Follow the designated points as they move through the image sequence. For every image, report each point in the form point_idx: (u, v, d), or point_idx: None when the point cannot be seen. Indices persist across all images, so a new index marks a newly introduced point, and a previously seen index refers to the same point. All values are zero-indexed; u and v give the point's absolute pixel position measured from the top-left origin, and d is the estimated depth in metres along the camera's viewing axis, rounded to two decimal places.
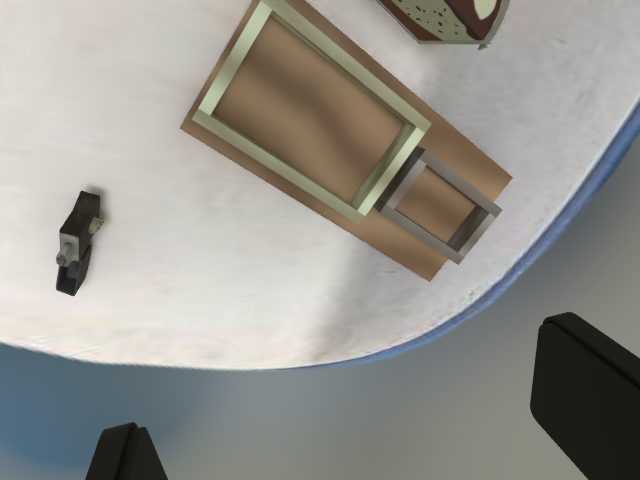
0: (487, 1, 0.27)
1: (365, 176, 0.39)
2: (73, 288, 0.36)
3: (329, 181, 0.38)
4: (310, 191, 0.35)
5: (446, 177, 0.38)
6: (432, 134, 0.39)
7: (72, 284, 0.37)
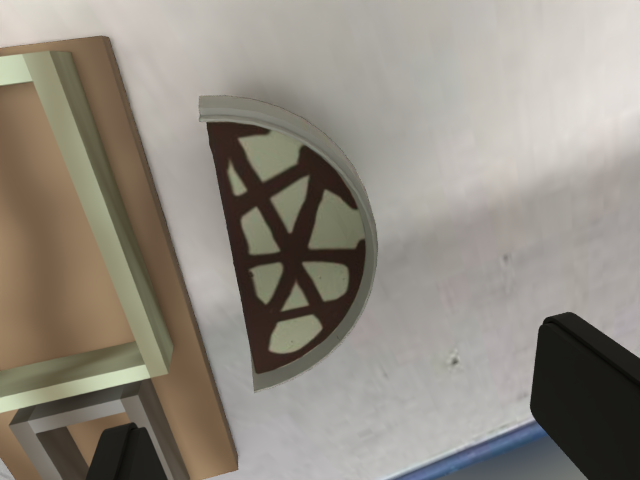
0: (293, 338, 0.17)
1: (47, 357, 0.24)
2: None
3: None
4: None
5: None
6: (178, 370, 0.26)
7: None
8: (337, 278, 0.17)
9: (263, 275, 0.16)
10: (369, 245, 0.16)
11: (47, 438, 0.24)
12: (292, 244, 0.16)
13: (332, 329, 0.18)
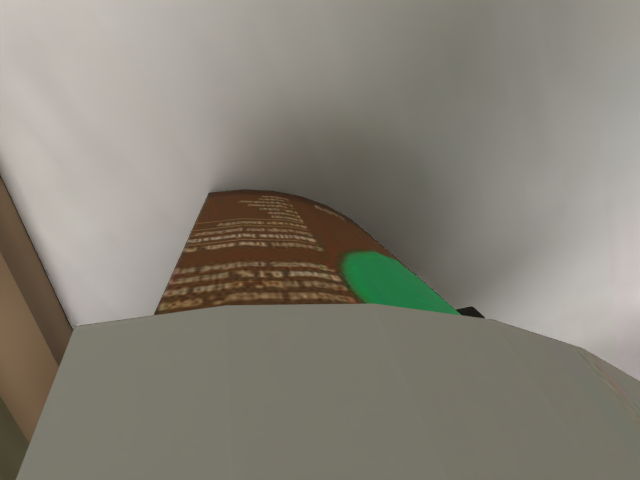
0: None
1: None
2: None
3: None
4: None
5: None
6: None
7: None
8: None
9: None
10: None
11: None
12: None
13: None
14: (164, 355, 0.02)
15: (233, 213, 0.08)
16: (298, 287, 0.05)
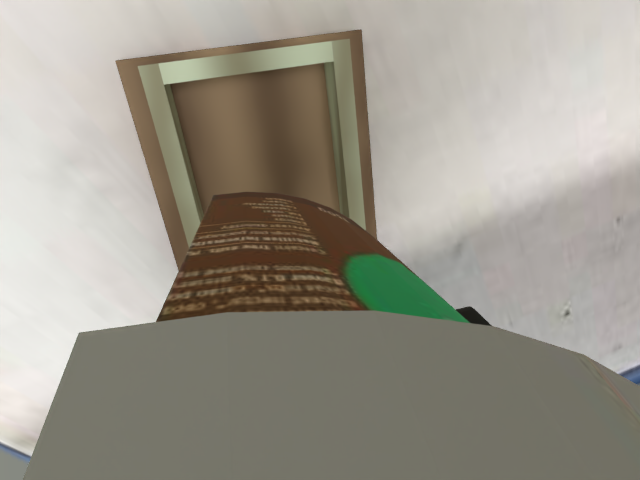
0: None
1: None
2: None
3: None
4: None
5: None
6: None
7: None
8: None
9: None
10: None
11: None
12: None
13: None
14: (166, 362, 0.02)
15: (237, 216, 0.08)
16: (300, 291, 0.05)
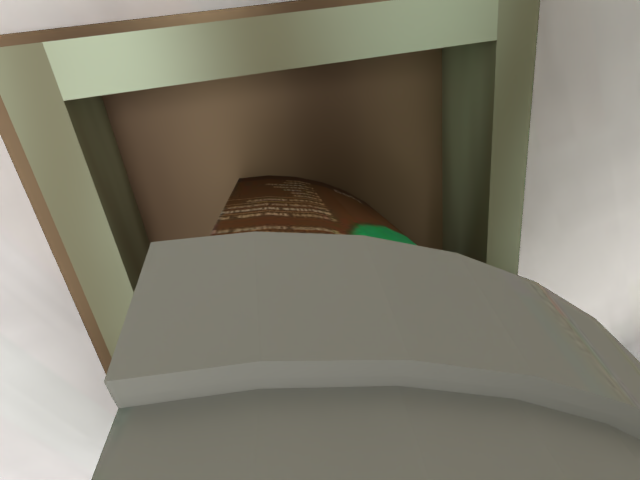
0: None
1: None
2: None
3: None
4: None
5: None
6: None
7: None
8: None
9: None
10: None
11: None
12: None
13: None
14: (212, 258, 0.03)
15: (260, 193, 0.09)
16: None
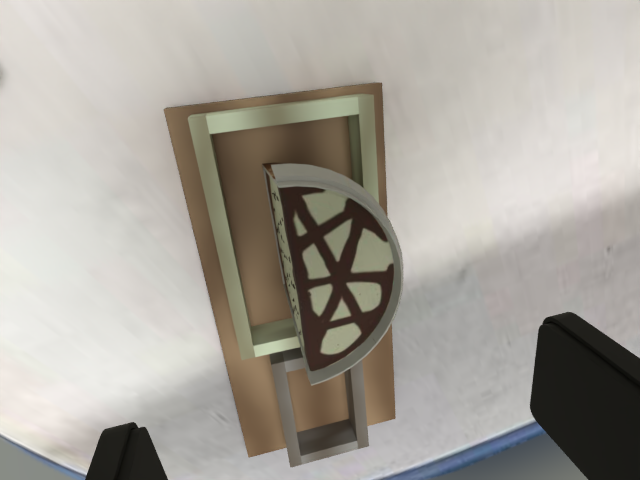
0: (339, 342, 0.22)
1: (287, 316, 0.32)
2: None
3: (253, 292, 0.30)
4: (229, 291, 0.27)
5: (353, 381, 0.32)
6: None
7: None
8: (372, 294, 0.22)
9: (318, 293, 0.21)
10: (397, 268, 0.21)
11: None
12: (339, 269, 0.21)
13: (368, 333, 0.22)
14: (283, 166, 0.19)
15: None
16: None
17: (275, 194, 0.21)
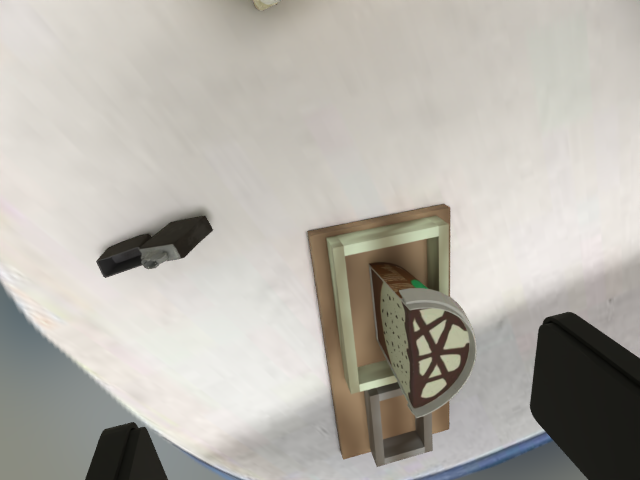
0: (432, 390, 0.35)
1: (377, 360, 0.44)
2: (107, 268, 0.34)
3: (355, 345, 0.43)
4: (347, 349, 0.40)
5: None
6: None
7: (108, 263, 0.34)
8: (455, 360, 0.34)
9: (423, 363, 0.33)
10: (472, 346, 0.33)
11: None
12: (436, 348, 0.33)
13: (451, 384, 0.35)
14: (407, 291, 0.32)
15: (384, 272, 0.37)
16: (408, 287, 0.34)
17: (393, 299, 0.34)
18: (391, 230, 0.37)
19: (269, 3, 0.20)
